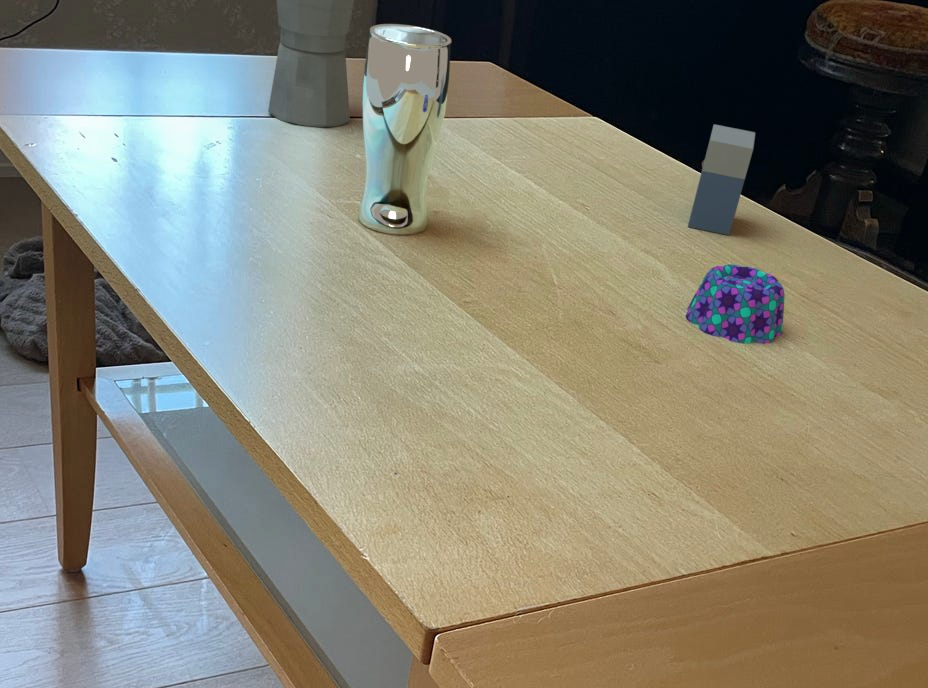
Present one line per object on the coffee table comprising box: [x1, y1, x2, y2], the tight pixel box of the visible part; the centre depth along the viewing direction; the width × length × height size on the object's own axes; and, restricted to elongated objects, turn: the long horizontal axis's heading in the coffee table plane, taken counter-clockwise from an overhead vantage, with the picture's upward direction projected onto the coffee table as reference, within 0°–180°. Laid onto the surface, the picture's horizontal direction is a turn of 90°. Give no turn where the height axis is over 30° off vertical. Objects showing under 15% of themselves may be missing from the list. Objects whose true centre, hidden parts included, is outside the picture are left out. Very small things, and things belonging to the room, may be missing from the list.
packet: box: [687, 124, 756, 236], centre depth 110 cm, size 4×6×8 cm, turn 166°
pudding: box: [685, 263, 786, 345], centre depth 88 cm, size 12×12×5 cm
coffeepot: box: [267, 0, 355, 128], centre depth 119 cm, size 15×9×18 cm, turn 27°
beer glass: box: [357, 23, 452, 236], centre depth 97 cm, size 7×7×15 cm
